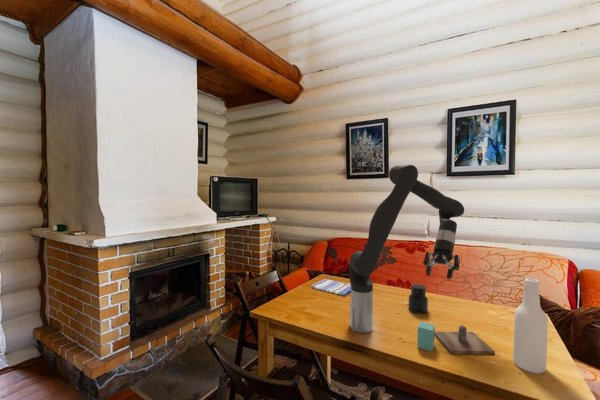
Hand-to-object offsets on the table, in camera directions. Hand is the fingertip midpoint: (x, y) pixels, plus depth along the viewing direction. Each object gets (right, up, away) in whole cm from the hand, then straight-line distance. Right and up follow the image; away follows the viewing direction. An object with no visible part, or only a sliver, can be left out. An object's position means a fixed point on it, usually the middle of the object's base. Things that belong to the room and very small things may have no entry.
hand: (438, 277), depth 122 cm
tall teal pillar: (-10, -24, -12) cm, 28 cm away
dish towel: (-38, -22, +52) cm, 68 cm away
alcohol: (+19, -24, -24) cm, 39 cm away
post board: (+5, -23, -10) cm, 26 cm away
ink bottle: (0, -22, +21) cm, 31 cm away
